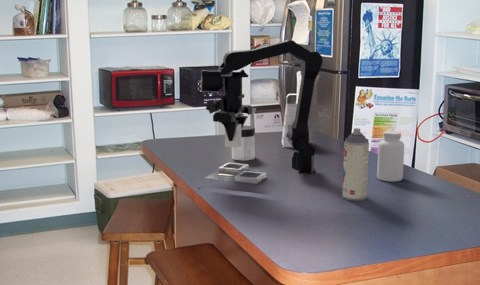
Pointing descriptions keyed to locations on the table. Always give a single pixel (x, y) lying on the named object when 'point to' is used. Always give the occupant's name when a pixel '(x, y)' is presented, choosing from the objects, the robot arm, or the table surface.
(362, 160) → the aerosol can
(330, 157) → the table surface
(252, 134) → the jar
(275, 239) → the table surface
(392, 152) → the pill bottle
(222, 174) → the panel
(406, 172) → the table surface
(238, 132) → the plug
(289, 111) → the grater
